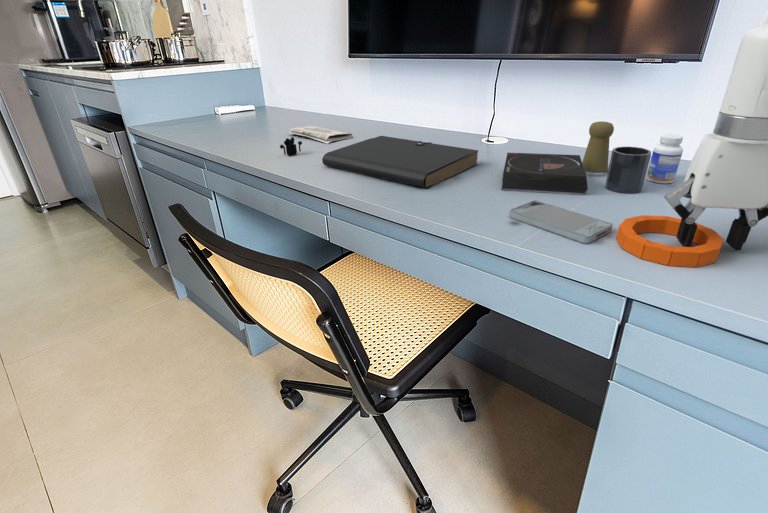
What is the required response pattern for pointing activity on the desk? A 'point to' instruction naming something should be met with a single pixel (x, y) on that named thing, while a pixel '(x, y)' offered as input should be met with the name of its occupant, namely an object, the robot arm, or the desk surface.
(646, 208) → the desk surface
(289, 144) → the wireless earbuds
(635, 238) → the ring
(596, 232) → the phone
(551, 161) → the portable cd player
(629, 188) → the cup
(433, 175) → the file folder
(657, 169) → the pill bottle
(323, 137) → the newspaper
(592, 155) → the olive pawn
